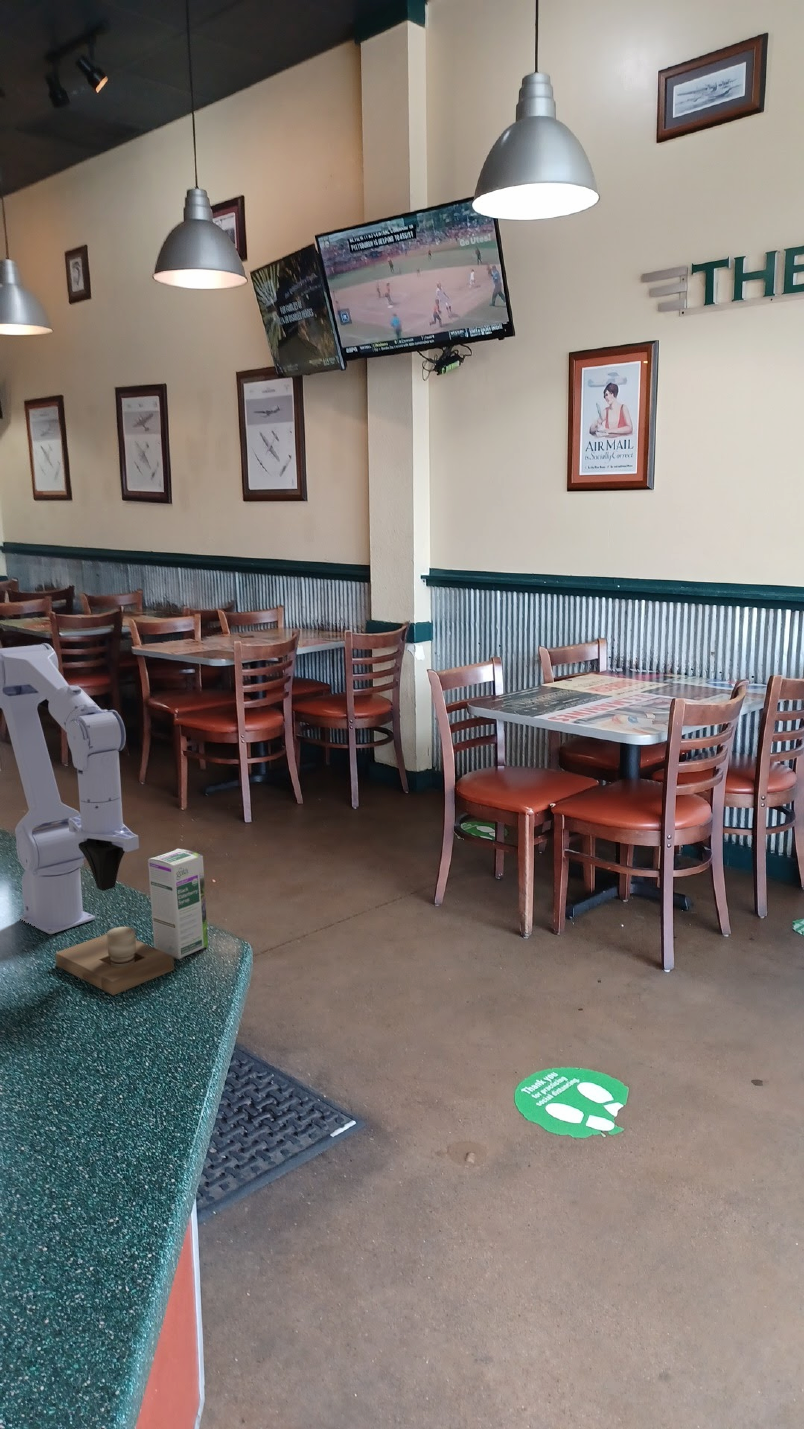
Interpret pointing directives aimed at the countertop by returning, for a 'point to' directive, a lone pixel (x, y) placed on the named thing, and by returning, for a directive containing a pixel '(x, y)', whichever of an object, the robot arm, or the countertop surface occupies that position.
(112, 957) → the peg
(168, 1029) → the countertop surface
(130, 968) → the board
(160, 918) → the syrup box
